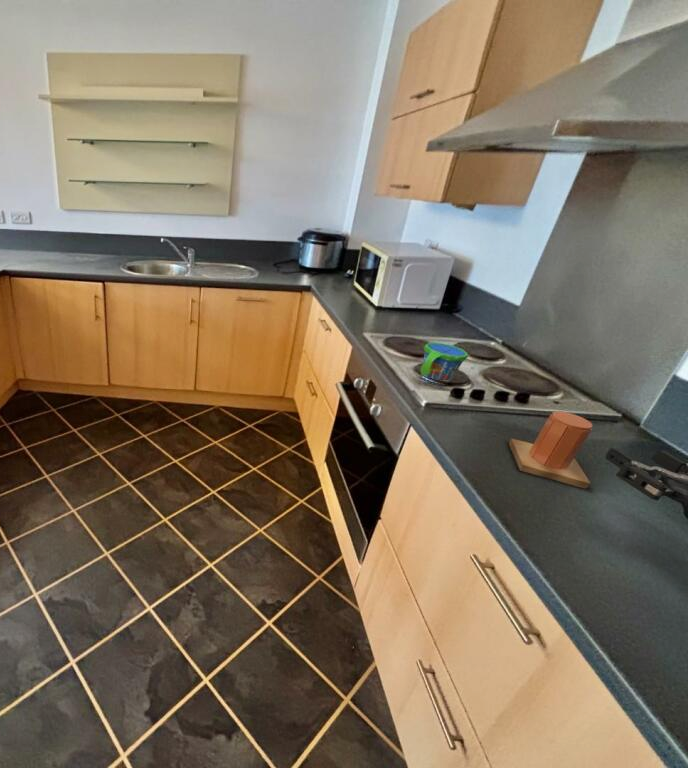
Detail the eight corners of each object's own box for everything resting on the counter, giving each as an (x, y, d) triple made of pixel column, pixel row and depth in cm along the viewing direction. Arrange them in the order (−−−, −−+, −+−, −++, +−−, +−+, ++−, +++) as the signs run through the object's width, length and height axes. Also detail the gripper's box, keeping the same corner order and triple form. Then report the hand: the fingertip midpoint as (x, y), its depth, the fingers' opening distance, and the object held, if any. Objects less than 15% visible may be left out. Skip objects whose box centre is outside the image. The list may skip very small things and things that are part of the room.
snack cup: (435, 370, 129) (447, 339, 125) (467, 385, 121) (482, 353, 116) (400, 376, 123) (411, 344, 119) (432, 392, 115) (446, 359, 110)
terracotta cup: (561, 456, 88) (586, 416, 84) (571, 472, 83) (597, 431, 79) (526, 447, 91) (548, 408, 86) (534, 462, 86) (557, 421, 81)
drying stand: (568, 459, 90) (593, 419, 85) (586, 489, 81) (615, 447, 77) (508, 443, 94) (529, 405, 89) (519, 470, 85) (543, 429, 81)
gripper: (818, 507, 56) (685, 437, 70) (718, 503, 55) (605, 433, 70) (777, 546, 59) (658, 472, 74) (682, 542, 59) (582, 468, 73)
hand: (632, 453), depth 72 cm, fingers open, 8 cm apart
